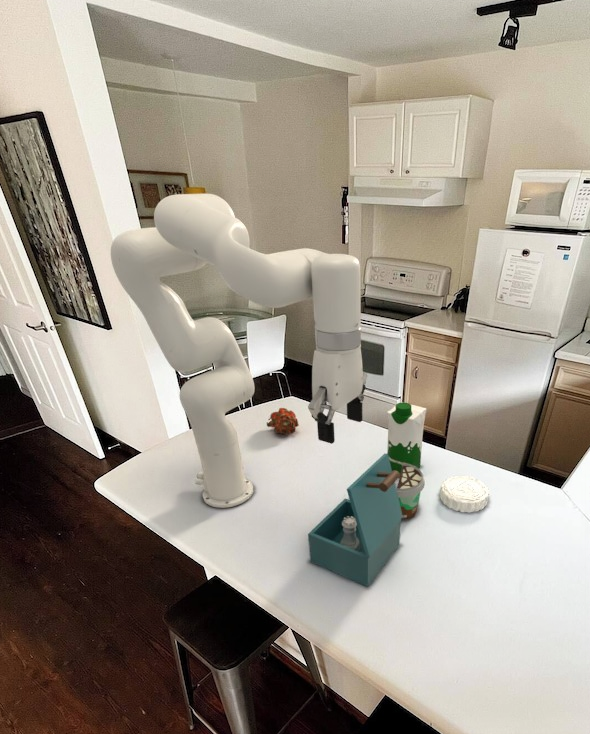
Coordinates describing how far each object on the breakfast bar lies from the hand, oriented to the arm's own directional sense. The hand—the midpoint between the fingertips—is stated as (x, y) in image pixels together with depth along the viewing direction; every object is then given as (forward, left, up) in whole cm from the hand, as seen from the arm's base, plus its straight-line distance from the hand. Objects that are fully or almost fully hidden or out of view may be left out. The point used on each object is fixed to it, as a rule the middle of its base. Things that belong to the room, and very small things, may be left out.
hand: (341, 430), depth 83 cm
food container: (+11, +16, -28) cm, 34 cm away
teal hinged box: (+4, -2, -28) cm, 29 cm away
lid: (+8, -3, -13) cm, 16 cm away
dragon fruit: (-37, +43, -28) cm, 63 cm away
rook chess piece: (+2, -2, -28) cm, 28 cm away
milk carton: (+5, +34, -28) cm, 45 cm away
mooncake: (+23, +25, -28) cm, 44 cm away
